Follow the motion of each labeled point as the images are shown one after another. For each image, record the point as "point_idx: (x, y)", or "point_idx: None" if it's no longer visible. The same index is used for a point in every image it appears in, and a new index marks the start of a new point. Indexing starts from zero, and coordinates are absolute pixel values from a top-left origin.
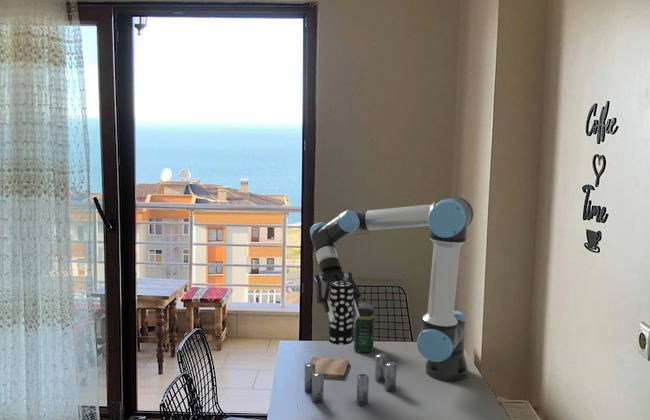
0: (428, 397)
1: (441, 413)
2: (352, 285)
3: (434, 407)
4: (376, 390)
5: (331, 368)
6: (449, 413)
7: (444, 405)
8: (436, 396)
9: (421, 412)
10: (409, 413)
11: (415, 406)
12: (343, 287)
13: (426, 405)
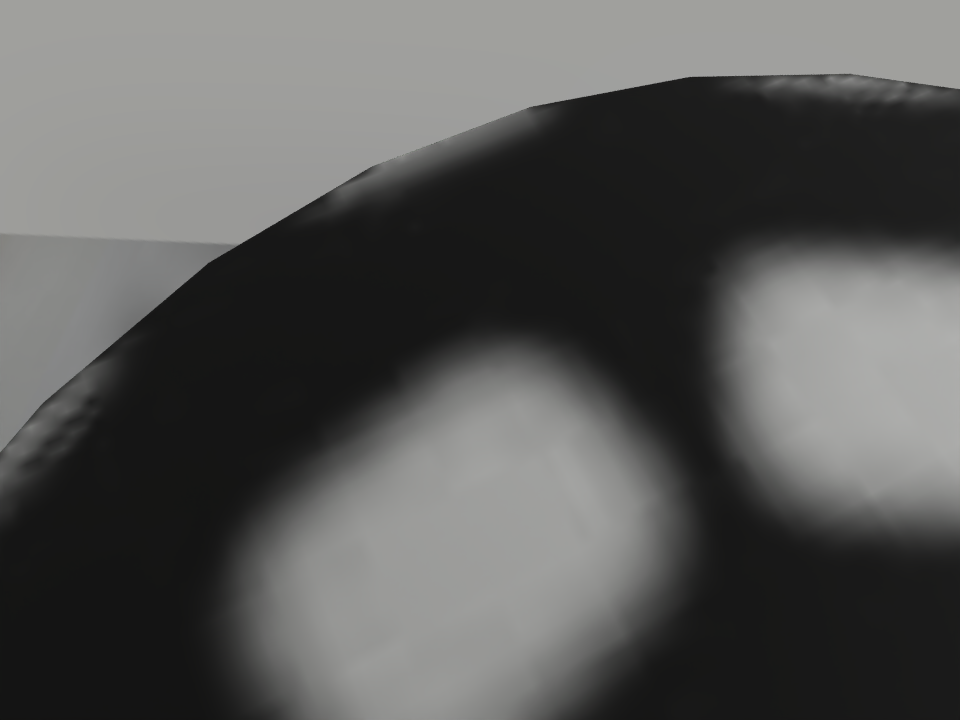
0: (52, 392)
1: (63, 244)
2: (39, 447)
3: (69, 295)
4: None
5: None
6: (27, 242)
7: (12, 311)
8: (5, 401)
9: (148, 256)
10: (205, 251)
11: (154, 307)
12: (759, 97)
13: (98, 314)
